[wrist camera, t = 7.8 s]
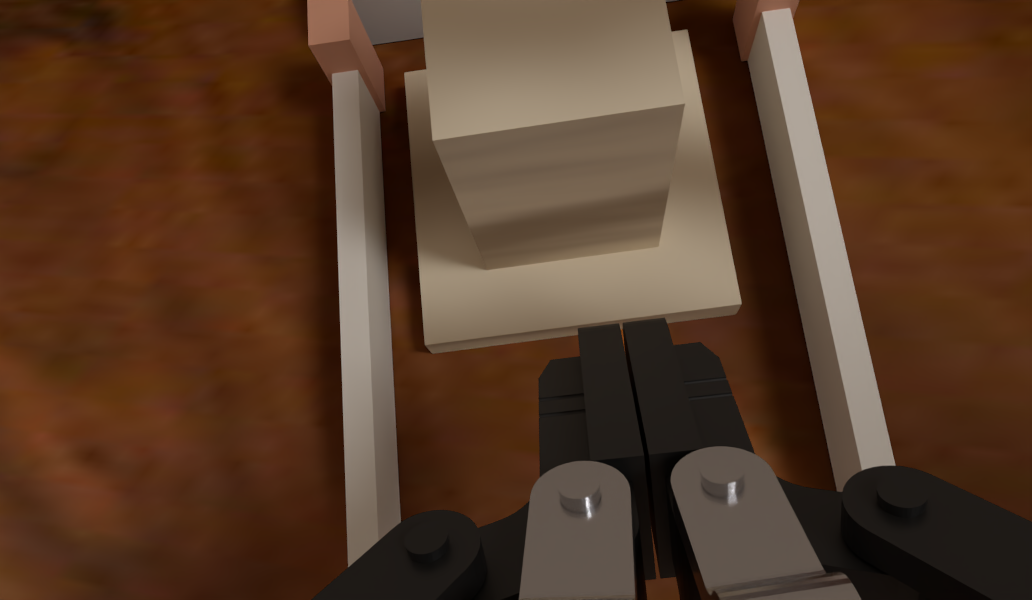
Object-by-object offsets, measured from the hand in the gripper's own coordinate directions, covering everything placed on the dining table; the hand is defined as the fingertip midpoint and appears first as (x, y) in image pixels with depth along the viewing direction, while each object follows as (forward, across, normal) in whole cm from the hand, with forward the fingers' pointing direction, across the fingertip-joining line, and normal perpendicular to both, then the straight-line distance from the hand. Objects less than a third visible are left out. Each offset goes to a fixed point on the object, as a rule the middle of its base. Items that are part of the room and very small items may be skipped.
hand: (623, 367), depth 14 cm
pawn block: (+12, +1, +2) cm, 12 cm away
